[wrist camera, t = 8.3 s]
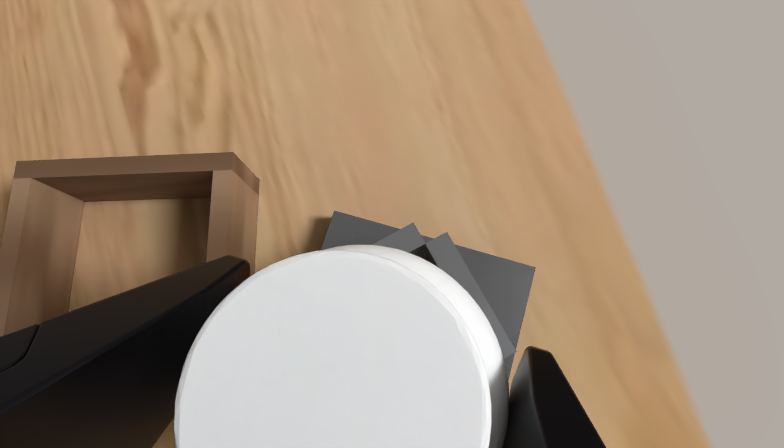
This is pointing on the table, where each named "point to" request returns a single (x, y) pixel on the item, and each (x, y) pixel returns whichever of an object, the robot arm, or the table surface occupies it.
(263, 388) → the supplement bottle
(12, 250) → the block
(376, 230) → the v-block
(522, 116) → the table surface
